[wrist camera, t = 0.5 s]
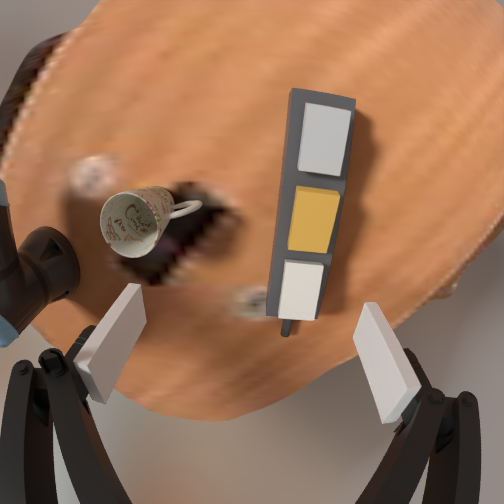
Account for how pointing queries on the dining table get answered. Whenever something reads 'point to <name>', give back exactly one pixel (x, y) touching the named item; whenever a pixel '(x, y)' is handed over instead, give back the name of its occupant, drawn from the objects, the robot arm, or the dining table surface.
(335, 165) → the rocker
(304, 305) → the block
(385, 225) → the dining table surface
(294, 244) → the block
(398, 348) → the robot arm
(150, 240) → the mug
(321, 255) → the power strip
